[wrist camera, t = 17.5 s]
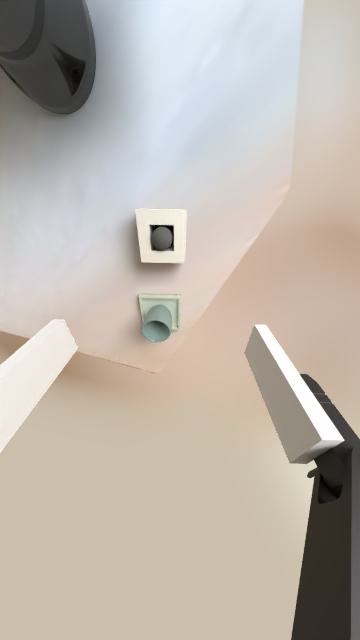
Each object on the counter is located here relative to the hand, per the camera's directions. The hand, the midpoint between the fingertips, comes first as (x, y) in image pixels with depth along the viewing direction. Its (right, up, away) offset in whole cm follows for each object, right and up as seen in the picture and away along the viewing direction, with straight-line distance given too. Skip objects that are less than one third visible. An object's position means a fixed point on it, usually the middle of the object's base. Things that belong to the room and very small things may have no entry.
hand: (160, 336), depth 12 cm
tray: (-4, +4, +40) cm, 40 cm away
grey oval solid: (-2, +21, +26) cm, 34 cm away
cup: (-5, +4, +39) cm, 40 cm away
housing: (-2, +22, +27) cm, 35 cm away
